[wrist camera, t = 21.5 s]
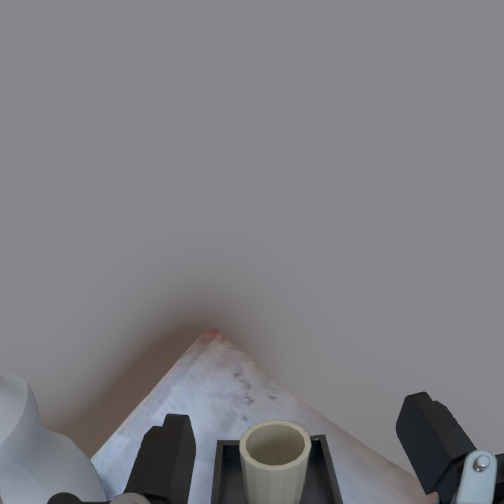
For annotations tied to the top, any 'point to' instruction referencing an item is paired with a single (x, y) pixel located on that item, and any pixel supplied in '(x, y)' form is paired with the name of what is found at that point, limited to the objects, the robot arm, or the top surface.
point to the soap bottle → (38, 453)
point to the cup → (274, 462)
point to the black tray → (316, 484)
